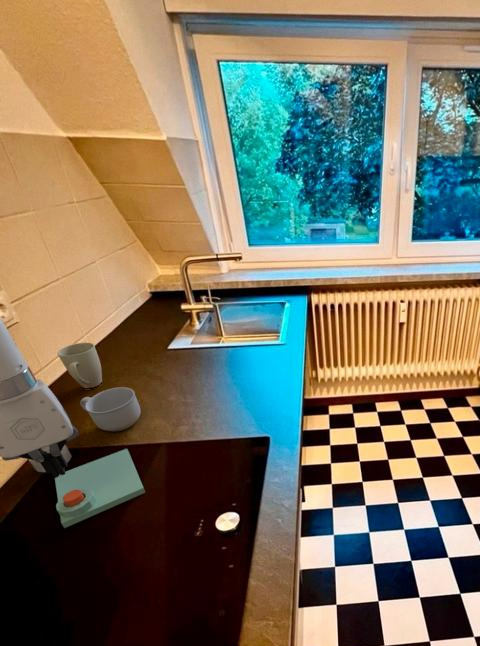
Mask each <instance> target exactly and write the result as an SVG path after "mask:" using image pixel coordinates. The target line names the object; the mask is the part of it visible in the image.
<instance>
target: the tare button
mask: <svg viewBox="0 0 480 646" xmlns="http://www.w3.org/2000/svg"><path fill="white" fill-rule="evenodd" d="M83 500H84V495H83V494H82V492H81V491H80V490H73V491H70V492H68V493H67V494H65V495H64V497H63V501H64V503H65V504H66V506H68V507H73V506H76V505H78V504H80V503H81V502H82V501H83Z"/></svg>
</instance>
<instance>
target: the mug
mask: <svg viewBox="0 0 480 646" xmlns="http://www.w3.org/2000/svg"><path fill="white" fill-rule="evenodd" d="M56 354H57V356H58V357H59V359H60V361H61V363H62V364H63V366H64V368H65V369H66V371H67V372H68V374H69V375H70V376H71V377H72V379H74V380H75V381H76V383H78V384H79V385H80V386H81V387H82V388H83V387H84V388H89V387H94V386H97V385H99V384H100V383H101V382H102V383H103V378H102V377H103V374H102V373H103V372H102V365H101V364H102V363H101V360H100V357H99V355H98V352H97V349H96V346H95V344H94V343H92V342H79V343H74V344H70V345H67V346H64V347H62V348H61V349H59V350H58V351H57V353H56ZM84 388H83V389H84Z"/></svg>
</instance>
